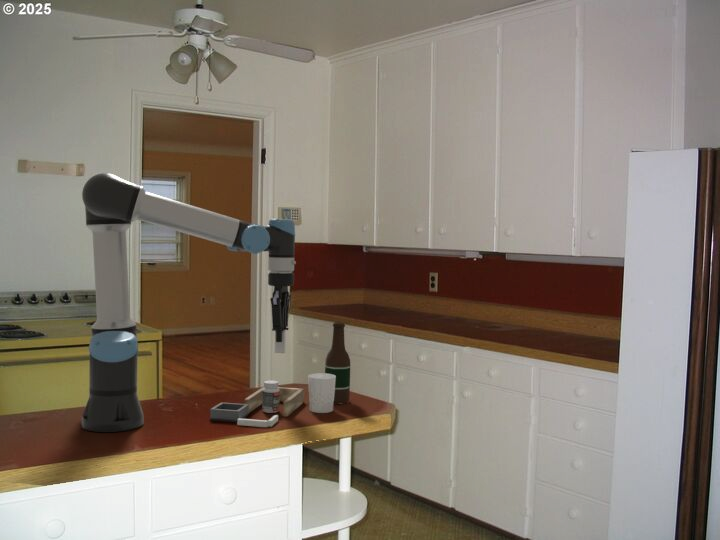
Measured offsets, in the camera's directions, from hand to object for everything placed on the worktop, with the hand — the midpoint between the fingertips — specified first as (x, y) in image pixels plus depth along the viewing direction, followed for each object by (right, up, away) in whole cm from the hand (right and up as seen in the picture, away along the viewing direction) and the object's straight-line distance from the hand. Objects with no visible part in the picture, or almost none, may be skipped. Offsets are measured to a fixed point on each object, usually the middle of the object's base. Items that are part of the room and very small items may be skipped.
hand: (279, 352), depth 213 cm
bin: (-12, -16, -15) cm, 25 cm away
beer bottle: (+16, -16, +7) cm, 24 cm away
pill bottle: (-2, -16, -7) cm, 17 cm away
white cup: (+12, -16, -4) cm, 21 cm away
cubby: (-1, -16, -2) cm, 16 cm away
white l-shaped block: (-4, -16, -19) cm, 26 cm away
